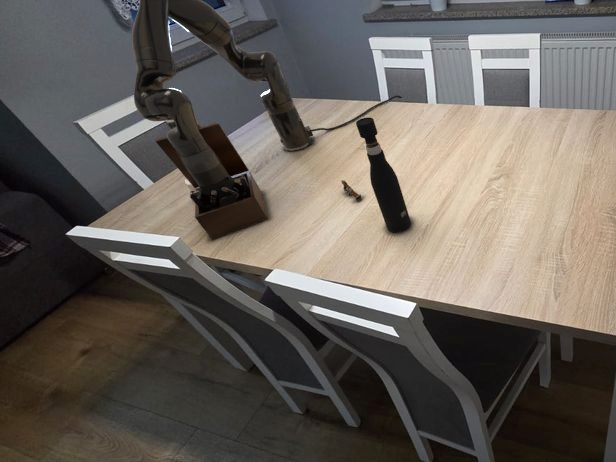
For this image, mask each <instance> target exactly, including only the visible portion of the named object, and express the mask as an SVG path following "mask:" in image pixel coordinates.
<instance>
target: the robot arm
mask: <svg viewBox="0 0 616 462" xmlns="http://www.w3.org/2000/svg"><path fill="white" fill-rule="evenodd" d="M169 19H171V20H172V21H174V22H175V23H177V24H178V25H179V26H181V27H182V28H183V29H185V30H186V31H187V32H188V33H189V34H190V35H192V36H193V37H194V38H196V39H197V40H198V41H200V42H201V43H202V44H204V45H205V46H207V47H208V48H209V49H211V50H212V51H213V52H215V54H217V55H218V56H220V57H221V58H222V59H223V60H225V61H226V62H227V63H228V64H229V66H231V67H233V69H234V70H235V71H237V72H238V74H240V75H241V76H242V77H243V78H244V79H245V80H247V81H249V82H251V83H254V84H255V83H256V84H258V83H259V84H260V83H267V84H268V87H269V89H268V90H266V91H264V92H262V93H261V94H260V101H261V102H262V104H263V106H264V108H265V111H266V112H267V114H268V117H269V119H270V120H271V123H272V124H273V126H274V129H275V130H276V133H277V135H278V136H279V139H280V140H279V141H280V143H281V144H282V146H283V147H284V149H285V150H286V151H289V152H294V151H300V150H302V149H305V148H307V147H308V146H310V145H312V144H313V142H312V140H311V137H313V136H314V133H313V132H318V131H333V130H336V129H339V128H342V127H344V126H346V125H348V124H350V123H352V122H355V121H357V120H358V119H360V118H361V117H362V116H364V115H365V114H367V113H368V112H370V111H372V110H373V109H374V108H377V107H378V106H381V105H383V104H385V103H387V102H390V101H392V100H393V99H396V98H399V99H402V98H403V97H402V96H401V95H393V96H391V97H390V98H388V99H385V100H383V101H381V102H379V103H377V104H375V105H373V106H371V107H370V108H367V109H366V110H365V111H363V112H362V113H360V114H358V115H357V116H355V117H353V118H352V119H350V120H349V121H346V122H344V123H341V124H338V125H337V126H334V127H328V128H326V127H319V128H312V129H311V127H310V125H306V126H305V124H304V122H303V120H302V118H301V116H300V113H299V111H298V109H297V107H296V105H295V103H294V100H293V98H292V95H291V93H290V87H289V85H288V82H287V80H286V78H285V74H284V72H283V69H282V66H281V64H280V61H279V60H278V58H277V56H276V55H275V54H274V53H273V52H271V51H267V50H263V51H251V52H249V51H246V50H244V49H243V48H241V47H240V46H239V45H238V44H237V43H236V42H235V37H234V32H233V29H232V26H231V25H230V23H229V22H228V21H227V19H225V17H223V16H222V15H221V14H220V13H219V12H218V11H217V10H216V9H214V8H213V7H212V6H211V5H209V4H208V3H206V2H205V1H204V0H139V3H138V9H137V13H136V16H135V19H134V22H133V26H132V30H131V47H132V51H133V56H134V61H135V66H136V73H135V80H134V81H135V82H134V83H135V84H134V89H133V101H134V107H135V108H136V111H138V113H139V115H141V117H143V118H144V119H146V120H148V121H150V122H166V121H168V120H173V121H174V122H175V124H176V127H175V128H173V129H171V128H170V129H169V130H168V131H167V133H166V137H167V139H168V140H169V142H170V144H171V145H172V146H173V148H174V149H175V151H176V152H177V154H178V155H179V157H180V158H181V161H182V162H183V164H184V166H185V167H186V168H187V170H188V171H189V173H190V174H191V176H192V177H193V178H194V180H195V181H196V183H197V184H198V186H199V187H200V189H199V190H197V191H191V190H190V192H189V198H190V199H191V200H192V201H193V202H194V204H195V203H196V204H197V205H198V207H199V208H200V209H201V210H202V211H203V212H207V211H211V210H214V209H217V208H218V206H217V207H216V199H218V200H219V199H222V198H223V197H228V196H231V195H232V196H234V197H237V198H239V199H241V200H243V199H246V198H248V197H251V194H250V188H249V185H248V183H247V180H246V178H245V176H244V175H240V174H239V175H240V177H237V178H232V177H233V176H231V177H230V176H229V174H228V173H227V171H226V169H225V168H224V166H223V165H222V163H221V162H220V160H219V157H218V156H217V155H216V154H215V152H214V151H213V150H212V148H211V147H210V146H209V145H208V143H207V141H206V140H205V138H204V137H203V135H202V134H201V132H200V130H199V127H198V123H199V122H198V120H197V116H196V114H195V109H194V106H193V104H192V102H191V100H190V98H189V96H187V95H186V94H185V93H184V92H183V91H181V90H179V89H178V88H173V87H171V88H170V87H169V88H167V87H166V88H164V85H165V83H167V82H169V81H172V80H173V79H175V78H176V75H177V69H176V65H175V59H174V53H173V49H172V45H171V37H170V25H169V24H170V20H169ZM235 183H238V184H239V185H242V186H243V188H244V190H245V193H243V192H241V191H239V190H238V189H237V188H235V187H234V185H235ZM201 194H204V195H207V196H209V197H211V205H207V204H206V203H205V202H204V201H203V200H202V199H201Z"/></svg>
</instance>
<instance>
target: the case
mask: <svg viewBox="0 0 616 462" xmlns="http://www.w3.org/2000/svg"><path fill="white" fill-rule="evenodd" d="M240 175H244V176H245V178H246V180H247V183H248V185H249V188H250V194H251V197H248V198H246V199H243V200H240V201H237V202H234V203H231V204H228V205H226V206H223V207H220V202H219V200H218V199H216V207H217V206H218V208H217V209H214V210H211V211H207V212H203V211H202V210H201V209H200V208H199V207H198V205H197V204H196V203H195V202H194V218H195V220H196V221H197V223H198V224H199V225H200V227H201V228H202V229H203V231H204V232H205V233H206V235H207V236H208V237H209V238H210V240H215V239H218V238H221V237H223V236H226V235H228V234H231V233H234V232H236V231H239V230H242V229H245V228H248V227H250V226H253V225H256V224H259V223H262V222H265V221H267V220H269V218H268V213H267V209H266V204H265V201H264V195H263V191H262V190H261V188H260V187H259V185H258V183H257V181H256V179H255V178H254V177H253V175H252V173H251V172H250V170H249V171H247V172H244V173H241V174H238V175H234V176H231V177H232V178H237V177H240ZM234 187H235V188H237V189H238V190H239V191H241V192H243V193H245V190H244V188H243V186H242V185H239V184H238V183H235V185H234ZM199 189H200V188H196V190H195V191H197V190H199ZM201 199H202V200H203V201H204V202H205V203H206V204H207V205H211V197H209V196H207V195H204V194H201Z"/></svg>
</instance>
